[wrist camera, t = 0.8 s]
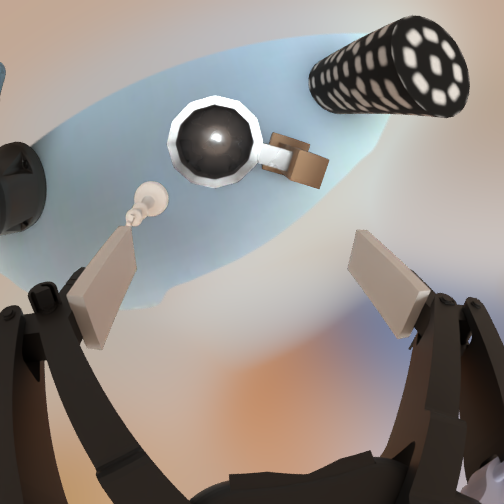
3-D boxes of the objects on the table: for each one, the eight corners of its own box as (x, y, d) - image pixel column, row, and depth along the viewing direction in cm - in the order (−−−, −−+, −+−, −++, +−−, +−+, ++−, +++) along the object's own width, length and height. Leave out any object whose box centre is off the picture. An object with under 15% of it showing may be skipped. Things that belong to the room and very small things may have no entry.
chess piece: (130, 207, 35) (103, 235, 26) (141, 175, 34) (113, 195, 25) (161, 220, 37) (142, 252, 28) (173, 188, 35) (155, 212, 26)
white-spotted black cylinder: (305, 56, 28) (381, 3, 10) (361, 61, 28) (461, 33, 10) (311, 113, 32) (397, 110, 14) (366, 115, 32) (472, 124, 14)
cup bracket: (167, 170, 27) (160, 176, 24) (186, 93, 24) (181, 89, 21) (287, 199, 30) (294, 208, 27) (311, 126, 26) (321, 127, 23)
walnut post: (261, 167, 35) (276, 187, 24) (272, 132, 33) (292, 135, 22) (296, 178, 36) (325, 201, 25) (308, 143, 34) (341, 153, 23)
